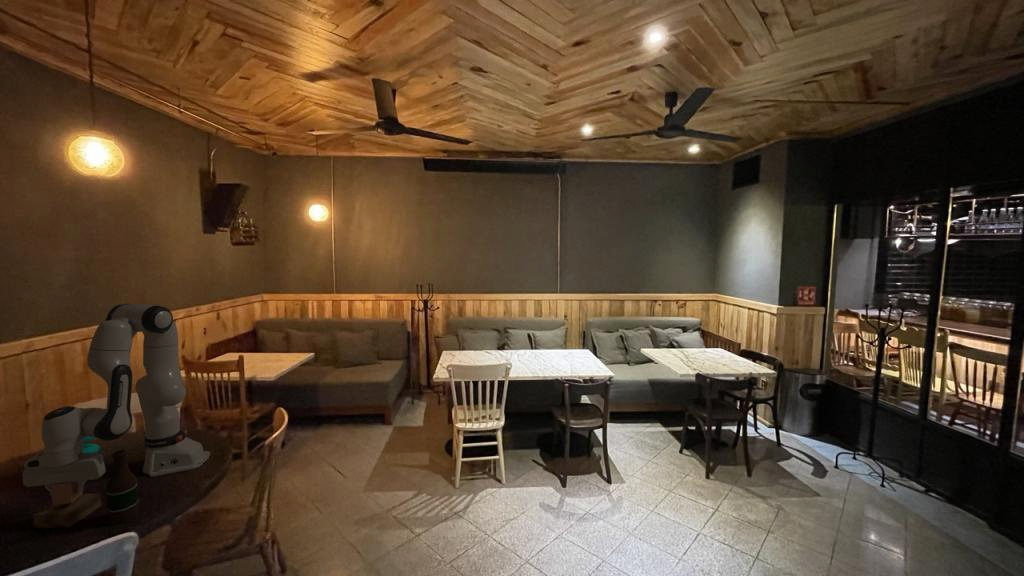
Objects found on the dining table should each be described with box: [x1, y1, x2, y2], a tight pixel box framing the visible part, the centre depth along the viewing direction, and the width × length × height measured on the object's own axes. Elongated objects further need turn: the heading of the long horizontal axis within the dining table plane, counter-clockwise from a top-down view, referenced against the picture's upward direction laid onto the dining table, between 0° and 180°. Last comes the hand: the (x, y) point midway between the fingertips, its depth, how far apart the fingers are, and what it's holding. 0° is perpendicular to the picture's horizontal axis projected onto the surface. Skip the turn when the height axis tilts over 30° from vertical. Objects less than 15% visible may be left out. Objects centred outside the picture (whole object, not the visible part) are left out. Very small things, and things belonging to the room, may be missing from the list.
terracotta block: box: [51, 481, 83, 505], centre depth 136 cm, size 5×5×7 cm
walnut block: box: [32, 493, 102, 529], centre depth 137 cm, size 11×11×5 cm
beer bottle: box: [105, 449, 140, 525], centre depth 136 cm, size 8×8×24 cm
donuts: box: [82, 436, 101, 453], centre depth 175 cm, size 10×10×10 cm
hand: (67, 493), depth 136 cm, fingers closed on terracotta block, 5 cm apart
